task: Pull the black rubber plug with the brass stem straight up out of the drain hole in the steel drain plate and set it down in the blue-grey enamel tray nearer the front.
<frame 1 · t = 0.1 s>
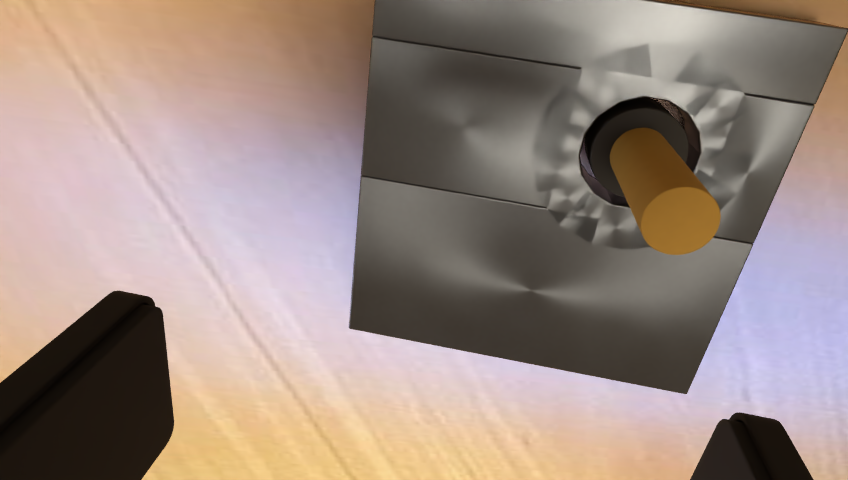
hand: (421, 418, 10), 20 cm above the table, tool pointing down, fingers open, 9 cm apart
plug: (628, 138, 26), resting in drain plate
drain plate: (550, 186, 28), on the table
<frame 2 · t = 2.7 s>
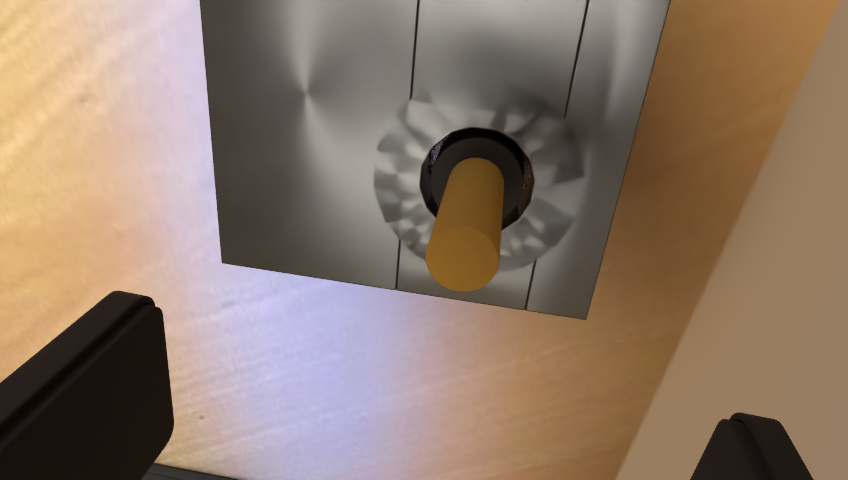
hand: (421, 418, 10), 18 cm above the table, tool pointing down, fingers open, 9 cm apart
plug: (479, 165, 27), resting in drain plate
drain plate: (422, 93, 26), on the table
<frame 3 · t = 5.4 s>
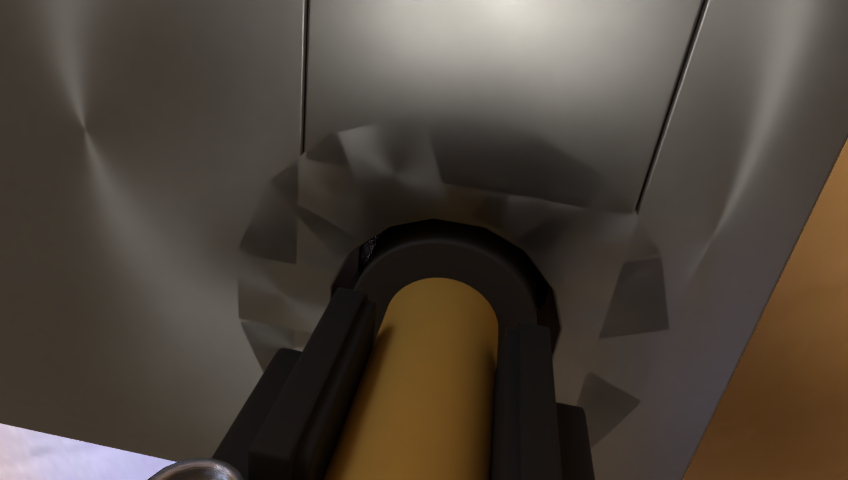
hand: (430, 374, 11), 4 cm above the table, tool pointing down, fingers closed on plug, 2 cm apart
plug: (453, 268, 14), resting in drain plate, touching gripper
drain plate: (344, 133, 13), on the table
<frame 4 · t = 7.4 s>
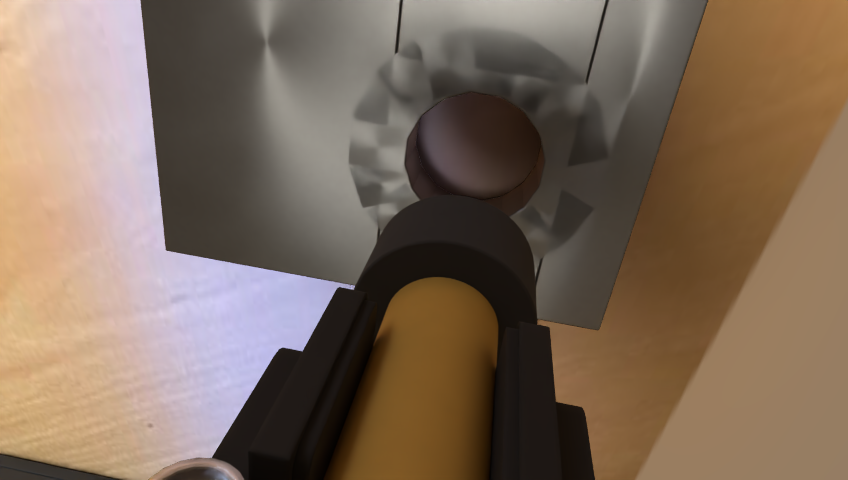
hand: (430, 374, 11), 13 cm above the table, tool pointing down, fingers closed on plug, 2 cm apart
plug: (453, 268, 14), point 9 cm above the table, touching gripper
drain plate: (411, 51, 21), on the table
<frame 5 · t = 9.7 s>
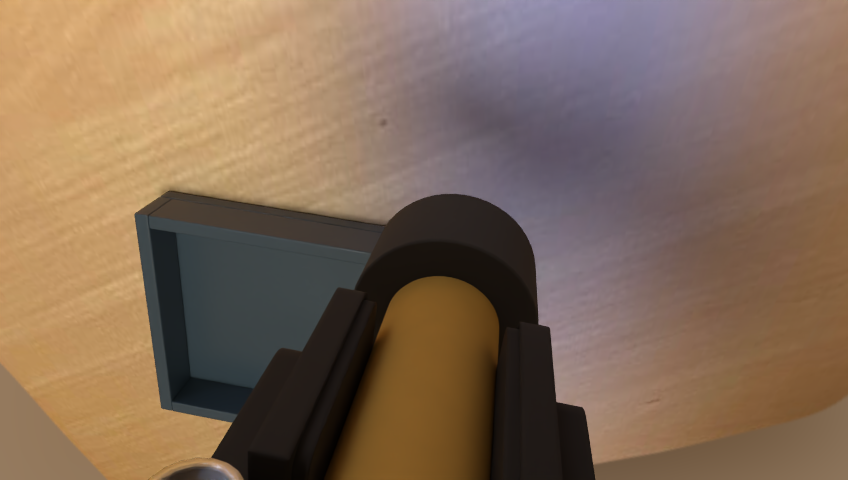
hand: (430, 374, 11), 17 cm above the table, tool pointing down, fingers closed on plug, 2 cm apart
plug: (453, 267, 14), point 13 cm above the table, touching gripper
basin tray: (326, 317, 32), on the table
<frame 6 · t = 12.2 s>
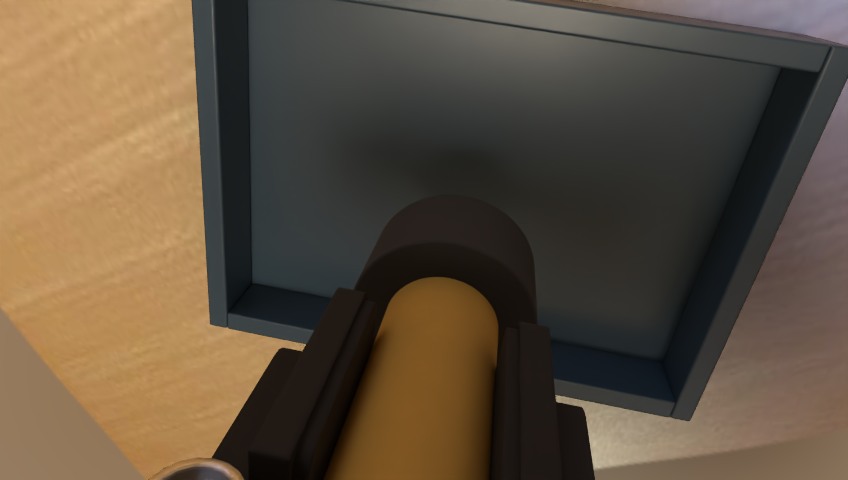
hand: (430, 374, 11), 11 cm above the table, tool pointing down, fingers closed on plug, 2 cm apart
plug: (453, 268, 14), point 7 cm above the table, touching gripper
basin tray: (476, 181, 20), on the table
when the fingers open (5 cm above the table, at t = 13.8 s): plug stays where it is, resting on basin tray.
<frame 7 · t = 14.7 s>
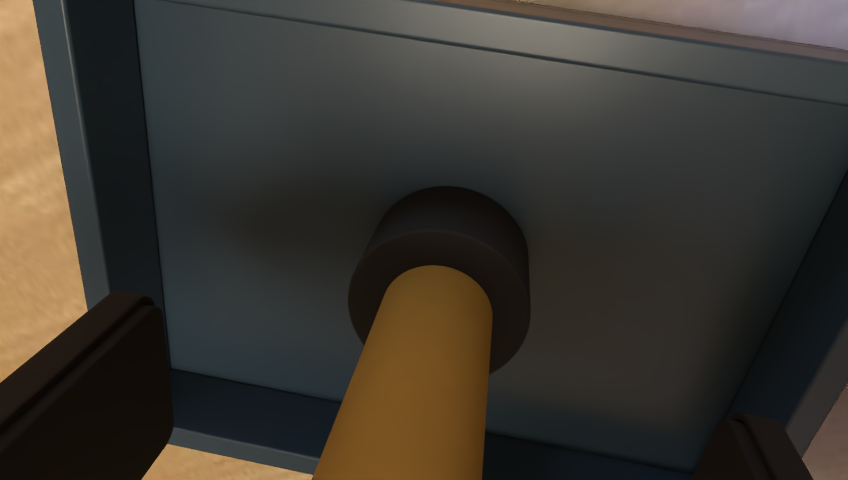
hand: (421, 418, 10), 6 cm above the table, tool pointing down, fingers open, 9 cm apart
plug: (448, 258, 14), point 1 cm above the table, touching basin tray
basin tray: (454, 246, 15), on the table
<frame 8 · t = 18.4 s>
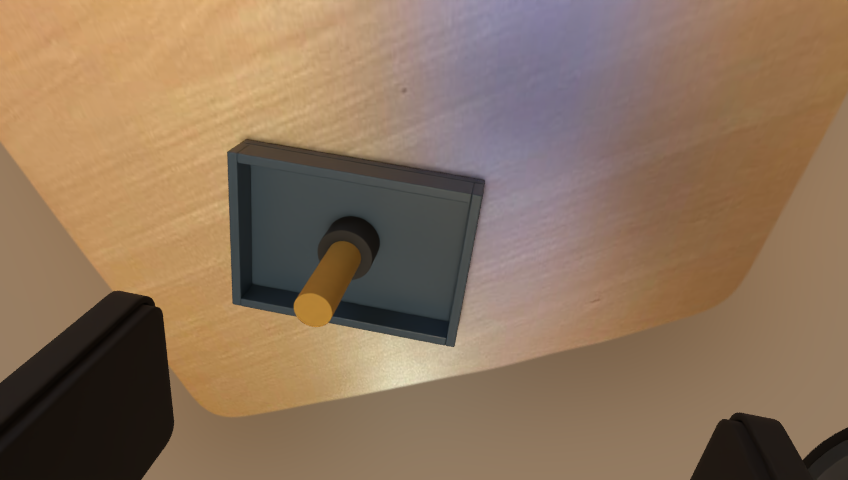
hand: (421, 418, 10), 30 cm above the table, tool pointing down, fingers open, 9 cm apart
plug: (353, 240, 42), point 1 cm above the table, touching basin tray
basin tray: (357, 236, 43), on the table
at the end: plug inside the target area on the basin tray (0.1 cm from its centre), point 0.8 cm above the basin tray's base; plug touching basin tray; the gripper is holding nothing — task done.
